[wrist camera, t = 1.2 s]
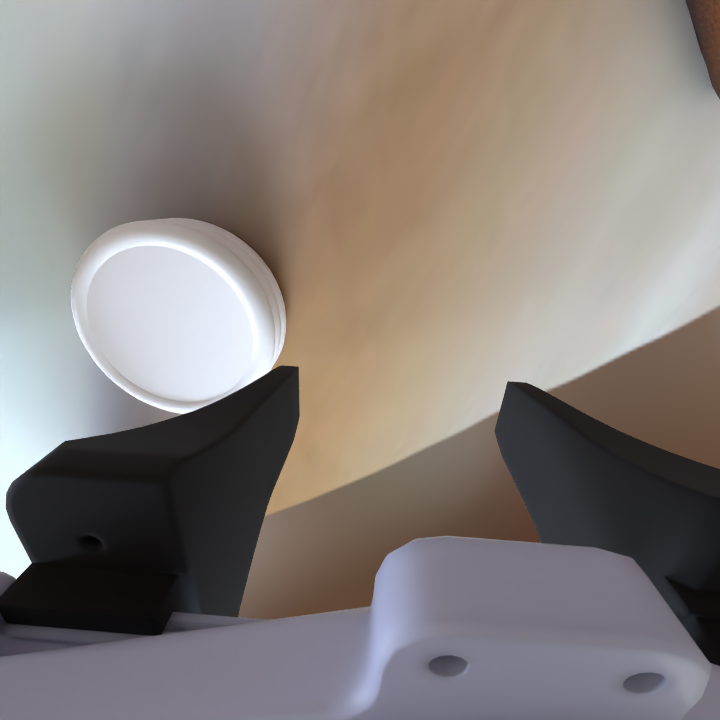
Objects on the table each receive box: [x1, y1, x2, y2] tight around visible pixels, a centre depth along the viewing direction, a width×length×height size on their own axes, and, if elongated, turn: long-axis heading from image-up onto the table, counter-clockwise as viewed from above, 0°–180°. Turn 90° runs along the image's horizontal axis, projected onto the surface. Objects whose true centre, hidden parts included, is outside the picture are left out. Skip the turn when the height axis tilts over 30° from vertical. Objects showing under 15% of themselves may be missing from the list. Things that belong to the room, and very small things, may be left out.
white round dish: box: [71, 218, 286, 414], centre depth 18 cm, size 10×10×4 cm
